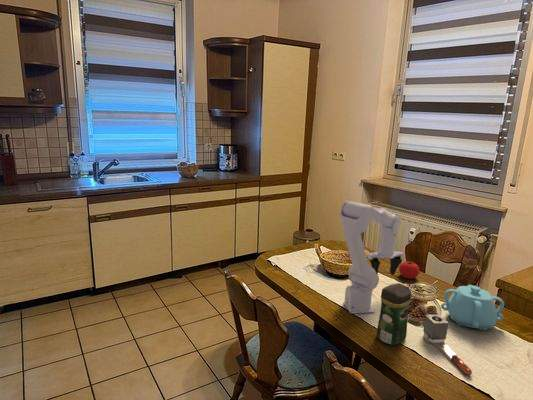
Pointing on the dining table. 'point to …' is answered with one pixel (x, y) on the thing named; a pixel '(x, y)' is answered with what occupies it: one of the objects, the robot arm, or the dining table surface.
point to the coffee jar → (394, 314)
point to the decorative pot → (473, 307)
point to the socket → (435, 327)
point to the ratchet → (449, 354)
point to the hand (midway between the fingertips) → (383, 274)
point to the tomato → (409, 270)
